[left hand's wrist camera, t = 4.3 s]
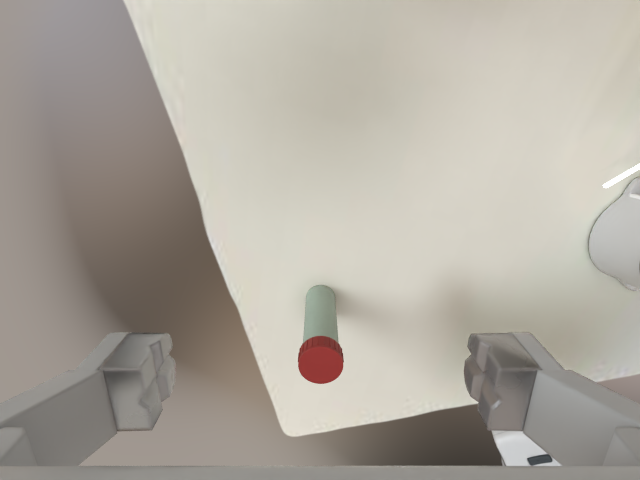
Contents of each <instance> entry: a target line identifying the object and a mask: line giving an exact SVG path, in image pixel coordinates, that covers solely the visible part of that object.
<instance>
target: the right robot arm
mask: <svg viewBox="0 0 640 480" xmlns="http://www.w3.org/2000/svg"><path fill="white" fill-rule="evenodd" d="M638 169H640V164H638V165H637V166H635V167H633V168H632V169H630V170H628V171H626V172H625V173H623V174H621V175H620V176H618V177H616V178H614V179H613V180H611V181H609V182H608V183H606V184H604V185H603V187H605V188H607V187H609V186H611V185H613V184H614V183H616V182H618V181H619V180H621V179H623V178H625V177H626V176H628V175H630V174H632V173H633V172H635V171H637V170H638ZM589 253H590V257H591V260H592V262H593V263H594V265H595V266H596V267H597V268H598V269H599V270H600V271H602V272H603V273H605V274H607V275H610V276H612V277H615V278H617V279H618V280H619V281H620V282H621V283H622V284H623V285H624V286H625V287H626V288H628V289H630V290H633V291H636V290H640V177H638V178H635V179H634V180H633V181H632V182H631V183H630V184H629V185H628V187H627V188H626V190H625V191H624V193H623V194H622V196H621V197H620V198H619V199H618V200H616V201H615V202H614V203H613V204H611V205H610V206H609V207H608V208H607V209H606V210H605V211H604V212H603V213H602V214H601V215H600V217H599V218H598V220H597V221H596V223H595V225H594V226H593V229H592V231H591V234H590V238H589ZM492 434H493V437H494V440H495V443H496V446H497V448H498V451H499V453H500V455H501V458H502V465H503V466H562V465H561V464H560V463H558V462H557V461H556V460H555V459H554V458H552V457H551V456H550V455H549V454H548V453H546V452H545V451H544V450H543V449H541V448H540V447H539V446H538V445H537V444H535V443H534V442H533V441H532V440H531V439H529V438H528V437H527V436H526V435H525V434H523V431H493V430H492Z"/></svg>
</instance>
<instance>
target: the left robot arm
mask: <svg viewBox="0 0 640 480" xmlns="http://www.w3.org/2000/svg"><path fill="white" fill-rule="evenodd" d="M172 347H173V346H172V341H171V337H170V335H169V334H168V333H135V332H132V333H130V332H113V333H110V334H108V335H107V336H106V337H105V338H104V339H103V340H102V341H101V342H100V344H99V345H98V346H97V347H96V348H95V349H94V350H93V351H92V352H91V353H90V354H89V356H88V357H87V358H86V359H85V360H84V361H83V362H82V363H81V364H80V365H79V366H78V367H77V369H76V370H68V371H66V372H64V373H62V374H60V375H58V376H56V377H54V378H52V379H50V380H48V381H46V382H44V383H42V384H40V385H38V386H36V387H33V388H31V389H29V390H27V391H25V392H23V393H21V394H19V395H17V396H15V397H13V398H11V399H9V400H7V401H5V402H3V403H1V404H0V480H640V404H639V403H637V402H635V401H633V400H631V399H629V398H627V397H625V396H623V395H621V394H619V393H617V392H615V391H613V390H611V389H609V388H606V387H604V386H602V385H600V384H598V383H596V382H594V381H592V380H590V379H588V378H586V377H584V376H582V375H580V374H578V373H576V372H574V371H572V370H564V369H563V367H562V366H561V365H560V364H559V363H558V362H557V361H556V360H555V359H554V358H553V357H552V356H551V354H550V353H549V352H548V351H547V350H546V349H545V348H544V347H543V346H542V345H541V344H540V342H539V341H538V340H537V339H536V338H535V337H534V336H533V335H532V334H530V333H528V332H515V333H483V334H471V335H470V337H469V340H468V346H467V347H468V349H469V350H470V352H471V355H470V356H469V357H468V358H467V359H466V360H465V367H464V377H465V384H466V387H467V390H468V392H469V394H470V396H471V397H472V398H473V399H475V400H476V401H478V402H479V403H478V409H477V410H478V412H479V414H480V416H481V418H482V420H483V421H484V423H485V425H486V427H487V429H488V430H493V431H523V434H525V435H526V436H527V437H528V438H529V439H531V440H532V441H533V442H534V443H535V444H537V445H538V446H539V447H540V448H541V449H543V450H544V451H545V452H546V453H548V454H549V455H550V456H551V457H552V458H554V459H555V460H556V461H557V462H558V463H560V464H561V465H562V466H78V465H79V464H81V463H82V462H83V461H84V460H85V459H87V458H88V457H89V456H90V455H91V454H93V453H94V452H95V451H96V450H97V449H99V448H100V447H101V446H102V445H104V444H105V443H106V442H107V441H108V440H110V439H111V438H112V437H113V436H114V435H116V434H117V431H146V430H152V429H153V427H154V425H155V423H156V422H157V420H158V418H159V416H160V414H161V412H162V410H163V409H162V403H161V402H162V401H164V400H165V399H167V398H168V397H169V396H170V394H171V392H172V390H173V387H174V383H175V378H176V366H175V361H174V359H173V358H172V357H171V356H170V355H169V352H170V350H171V349H172Z"/></svg>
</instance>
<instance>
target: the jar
mask: <svg viewBox="0 0 640 480" xmlns="http://www.w3.org/2000/svg"><path fill="white" fill-rule="evenodd" d="M315 336H327V337H330V338H332V339H334V340H335V341H336V342H337V343H338V330H337V317H336V304H335V295H334V292H333V291H332V290H331V289H330V288H329V287H327V286H324V285H318V286H314V287H312V288H311V289H310V290H309V291H308V293H307V295H306V307H305V322H304V336H303V343H304V342H305V341H306V340H308V339H309V338H312V337H315Z"/></svg>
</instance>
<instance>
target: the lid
mask: <svg viewBox="0 0 640 480" xmlns="http://www.w3.org/2000/svg"><path fill="white" fill-rule="evenodd" d="M298 362H299V363H298V367H299V371H300V373H301V374H302V376H303V377H304V378H305V379H307V380H308V381H310V382H313V383H318V384H324V383H329V382H331V381H333V380H335V379H336V378H337V377H338V376H339V375H340V374H341V372H342V370H343V362H344V361H343V353H342V348H341V347H340V345H339V344H338V343H337V342H336V341H335V340H334V339H332V338H330V337H327V336H315V337H312V338H309V339H308V340H306V341H305V342H304V343H303V344H302V346H301V348H300V352H299V355H298Z"/></svg>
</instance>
